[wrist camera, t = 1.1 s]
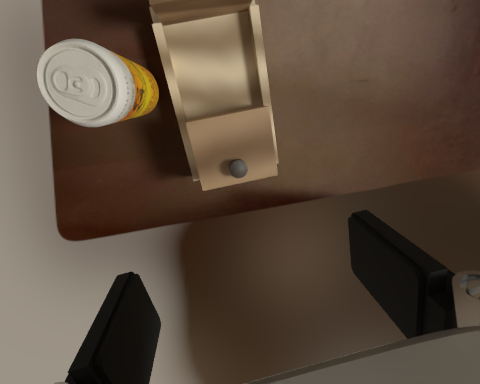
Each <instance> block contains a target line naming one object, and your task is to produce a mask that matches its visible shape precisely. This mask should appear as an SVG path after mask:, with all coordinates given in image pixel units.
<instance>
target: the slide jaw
mask: <svg viewBox="0 0 480 384" xmlns="http://www.w3.org/2000/svg"><path fill="white" fill-rule="evenodd" d="M186 126H187V130H188V134H189V138H190V142H191V146H192V150H193V154H194V158H195V162H196V166H197V169H198V173H199V177H200V181H201V185H202V189H203V191H206V190H210V189H215V188H220V187H224V186H229V185H234V184H238V183H243V182H248V181H252V180H257V179H262V178H266V177H271V176H276V175H278V172H277V164H276V156H275V149H274V141H273V134H272V126H271V119H270V111H269V106H264V105H255V106H250V107H245V108H240V109H235V110H230V111H225V112H220V113H215V114H210V115H205V116H200V117H195V118H190V119H189V120H188V121H187V122H186Z"/></svg>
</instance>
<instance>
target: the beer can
mask: <svg viewBox="0 0 480 384" xmlns="http://www.w3.org/2000/svg"><path fill="white" fill-rule="evenodd" d="M36 77H37V83H38V87H39V90H40V92H41V94H42V96H43V98H44V99H45V101H46V102H47V103H48V105H49V106H50V107H51V108H52V109H53V110H54V111H56V112H57V113H58V114H60V115H61V116H63V117H64V118H66V119H67V120H69V121H71V122H73V123H76V124H78V125H81V126H86V127H100V126H104V125H108V124H112V123H116V122H119V121H123V120H127V119H131V118H135V117H139V116H143V115H146V114H148V113H149V112H151V111H152V110H153V109H154V108H155V106H156V104H157V102H158V98H159V89H158V85H157V82H156V80H155V78H154V77H153V75H152V74H151V73H150V72H149V71H148V70H147V69H145V68H144V67H142V66H140V65H138V64H136V63H134V62H132V61H130V60H128V59H126V58H124V57H122V56H120V55H118V54H116V53H113V52H111V51H109V50H107V49H105V48H103V47H101V46H99V45H97V44H95V43H93V42H90V41H87V40H82V39H68V40H64V41H61V42H58V43H57V44H55V45H53V46H51V47H50V48H48V49H47V50H46V51H45V52H44V53H43V54H42V56H41V57H40V60H39V61H38V65H37V70H36Z"/></svg>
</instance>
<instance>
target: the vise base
mask: <svg viewBox="0 0 480 384" xmlns="http://www.w3.org/2000/svg"><path fill="white" fill-rule="evenodd" d="M149 3H150V6H151V7H149V9H150V13H151V16H152V20H153V24H152V27H153V31H154V34H155V38H156V42H157V46H158V49H159V53H160V57H161V61H162V64H163V68H164V72H165V76H166V79H167V83H168V87H169V91H170V94H171V98H172V102H173V106H174V109H175V113H176V117H177V121H178V124H179V128H180V132H181V136H182V139H183V143H184V147H185V151H186V154H187V158H188V162H189V166H190V169H191V173H192V177H193V181H196V180H200V177H199V173H198V169H197V166H196V162H195V158H194V154H193V150H192V146H191V142H190V138H189V134H188V130H187V126H186V122H187V121H188V120H189V119H190V118H195V117H200V116H205V115H210V114H215V113H220V112H225V111H230V110H235V109H240V108H245V107H250V106H255V105H264V106H269V111H270V119H271V126H272V134H273V141H274V149H275V156H276V164H277V163H279V162H278V154H277V146H276V138H275V130H274V123H273V115H272V107H271V99H270V91H269V84H268V76H267V68H266V60H265V53H264V45H263V37H262V29H261V21H260V14H259V6H258V5H255V0H149Z"/></svg>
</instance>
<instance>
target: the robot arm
mask: <svg viewBox="0 0 480 384" xmlns="http://www.w3.org/2000/svg"><path fill="white" fill-rule="evenodd" d="M348 226H349V238H350V239H349V240H350V254H351V267H352V270H353V272H354V274H355V275H356V277H357V278H358V279H359V280H360V281H361V283H362V284H363V285H364V286H365V288H366V289H367V290H368V291H369V292H370V294H371V295H372V296H373V297H374V299H375V300H376V301H377V302H378V303H379V305H380V306H381V307H382V308H383V309H384V310H385V312H386V313H387V314H388V316H389V317H390V318H391V319H392V321H393V322H394V323H395V324H396V325H397V327H398V328H399V329H400V330H401V331H402V333H403V334H404V335H405V336H406V338H407V339H406V340H402V341H398V342H394V343H390V344H386V345H382V346H379V347H375V348H372V349H368V350H364V351H360V352H357V353H353V354H350V355H346V356H342V357H338V358H335V359H331V360H327V361H324V362H320V363H316V364H313V365H309V366H306V367H302V368H298V369H295V370H291V371H288V372H284V373H281V374H277V375H273V376H270V377H266V378H263V379H259V380H256V381H252V382H248V383H245V384H480V272H479V271H462V272H459V273H457V274H456V275H455V274H454V273H452V272H451V271H450V270H448V268H446V267H445V266H444V265H442V264H441V263H440V262H438V261H437V260H436V259H434V258H433V257H431V256H430V255H429V254H427V253H426V252H424V251H423V250H422V249H420V248H419V247H417V246H416V245H415V244H413V243H412V242H410V241H409V240H408V239H406V238H405V237H403V236H402V235H401V234H399V233H398V232H397V231H395V230H394V229H392V228H391V227H390V226H388V225H387V224H386V223H384V222H383V221H381V220H380V219H379V218H377V217H376V216H374V215H373V214H372V213H370V212H369V211H367V210H362V211H359V212H355V213H352V215H351V217H349V218H348ZM160 328H161V321H160V318H159V315H158V313H157V311H156V309H155V307H154V305H153V304H152V301H151V299H150V297H149V295H148V293H147V291H146V289H145V287H144V285H143V283H142V280H141V278H140V276H139V275H138V274H134V273H133V272H128V273H124V274H121V275H118V276H117V277H116V279H115V281H114V283H113V285H112V287H111V288H110V290H109V293H108V294H107V296H106V299H105V300H104V302H103V304H102V306H101V308H100V310H99V312H98V314H97V316H96V318H95V320H94V322H93V324H92V326H91V328H90V330H89V332H88V334H87V336H86V338H85V340H84V342H83V343H82V346H81V347H80V349H79V351H78V353H77V355H76V357H75V359H74V361H73V363H72V365H71V367H70V369H69V371H68V373H69V374H68V376H67V378H66V380H65V382H58V383H54V384H149V381H150V376H151V372H152V367H153V361H154V357H155V352H156V348H157V343H158V338H159V333H160Z"/></svg>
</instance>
